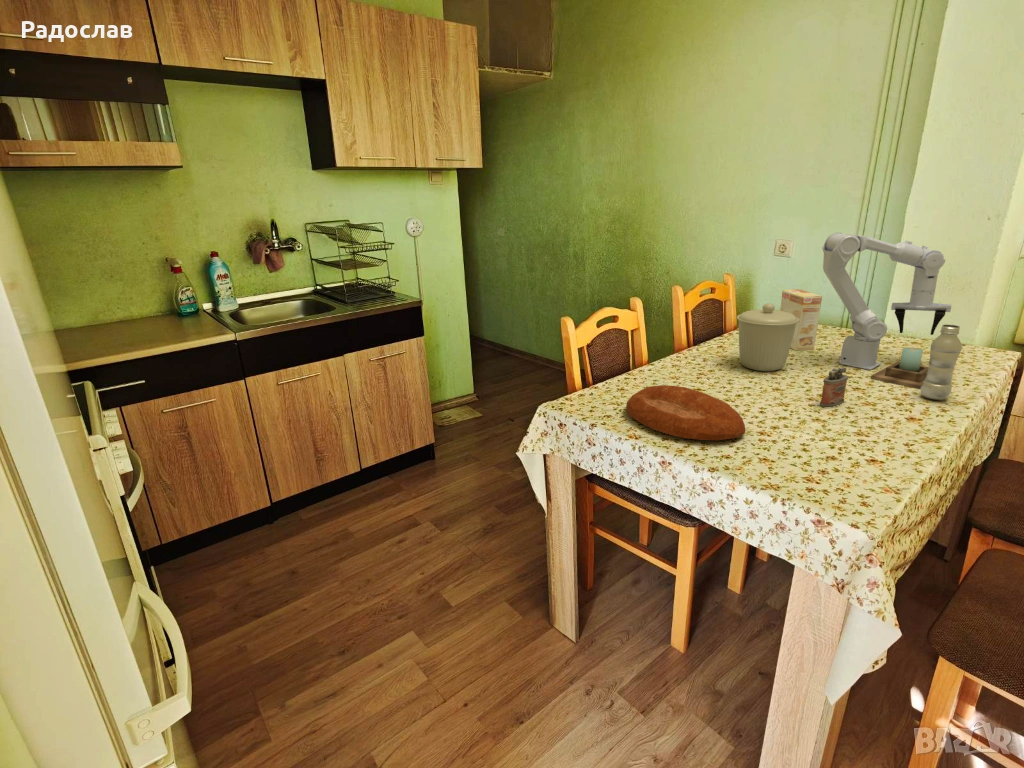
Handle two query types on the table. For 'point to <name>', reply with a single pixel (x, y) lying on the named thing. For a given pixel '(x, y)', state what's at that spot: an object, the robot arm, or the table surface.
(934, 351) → the plastic bottle
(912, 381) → the brown piece
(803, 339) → the coffeecake box
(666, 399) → the bread
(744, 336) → the canister
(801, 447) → the table surface
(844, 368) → the lighter
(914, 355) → the roll
